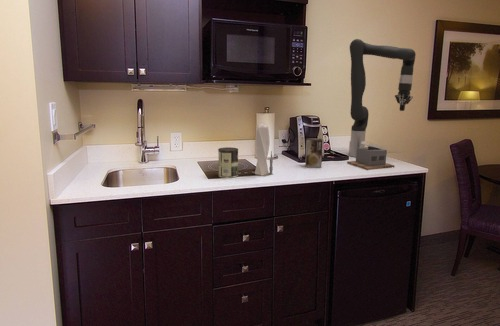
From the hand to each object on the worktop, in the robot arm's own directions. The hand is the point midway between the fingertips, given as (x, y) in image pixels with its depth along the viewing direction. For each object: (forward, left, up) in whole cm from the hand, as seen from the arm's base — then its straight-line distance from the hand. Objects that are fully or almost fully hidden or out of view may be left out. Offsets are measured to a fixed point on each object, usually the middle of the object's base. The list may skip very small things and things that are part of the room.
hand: (401, 110), depth 231 cm
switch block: (+9, -29, -30) cm, 43 cm away
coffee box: (0, -63, -32) cm, 71 cm away
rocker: (+9, -29, -19) cm, 36 cm away
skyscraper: (+8, -99, -32) cm, 104 cm away
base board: (+9, -29, -31) cm, 44 cm away
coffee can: (+5, -117, -32) cm, 121 cm away
